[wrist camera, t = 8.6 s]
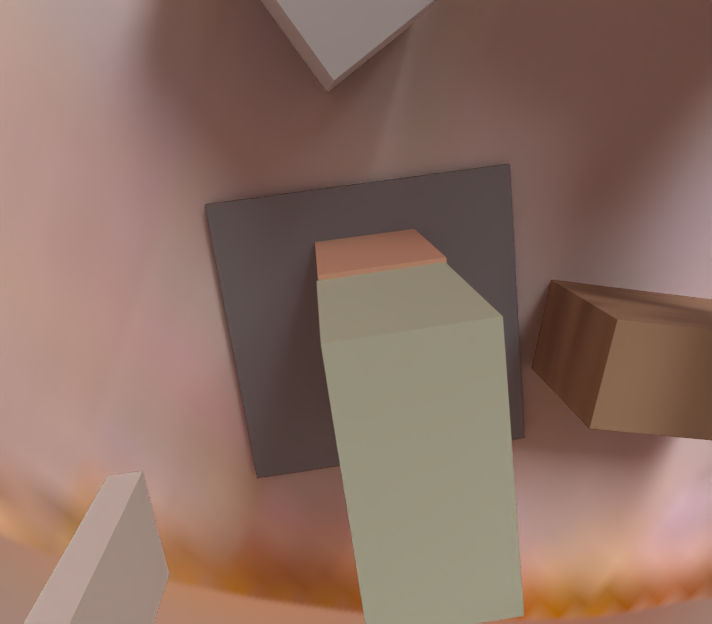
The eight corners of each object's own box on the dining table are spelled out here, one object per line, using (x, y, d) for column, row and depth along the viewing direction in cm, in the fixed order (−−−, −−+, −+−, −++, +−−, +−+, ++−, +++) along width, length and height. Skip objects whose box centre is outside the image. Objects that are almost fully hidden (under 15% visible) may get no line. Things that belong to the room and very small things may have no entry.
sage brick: (316, 281, 19) (320, 344, 14) (444, 262, 19) (502, 316, 14) (351, 506, 22) (368, 642, 16) (466, 487, 22) (524, 616, 16)
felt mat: (206, 204, 25) (204, 205, 24) (506, 164, 25) (509, 164, 25) (257, 473, 28) (257, 478, 28) (521, 433, 29) (524, 438, 28)
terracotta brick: (314, 242, 25) (317, 275, 19) (414, 228, 25) (446, 257, 19) (340, 423, 27) (350, 502, 22) (432, 410, 27) (465, 484, 22)
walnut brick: (531, 367, 28) (589, 428, 22) (550, 279, 27) (617, 319, 21) (699, 385, 29) (798, 448, 23) (724, 300, 28) (834, 344, 22)
